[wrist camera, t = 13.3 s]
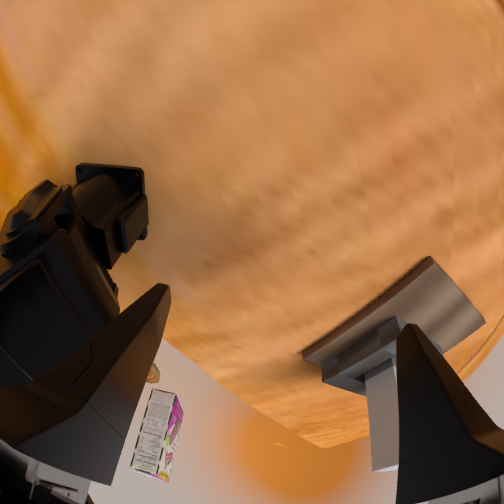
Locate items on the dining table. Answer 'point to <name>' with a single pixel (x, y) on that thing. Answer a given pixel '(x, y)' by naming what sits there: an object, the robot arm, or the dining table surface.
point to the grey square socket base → (396, 326)
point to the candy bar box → (158, 436)
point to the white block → (383, 415)
